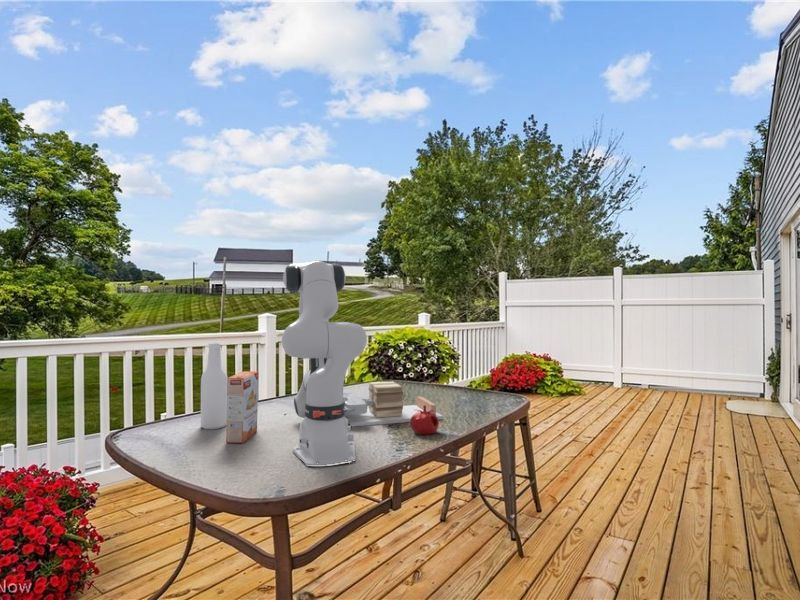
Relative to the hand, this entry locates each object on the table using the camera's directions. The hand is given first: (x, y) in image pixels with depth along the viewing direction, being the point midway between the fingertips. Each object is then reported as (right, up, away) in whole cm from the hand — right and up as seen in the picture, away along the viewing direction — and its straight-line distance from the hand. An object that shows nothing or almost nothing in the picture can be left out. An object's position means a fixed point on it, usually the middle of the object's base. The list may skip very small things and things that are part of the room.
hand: (372, 402), depth 178 cm
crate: (+5, -4, +2) cm, 7 cm away
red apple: (+19, -6, -19) cm, 28 cm away
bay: (+7, -6, +2) cm, 9 cm away
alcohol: (-56, -6, -14) cm, 58 cm away
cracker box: (-42, -6, -26) cm, 50 cm away
